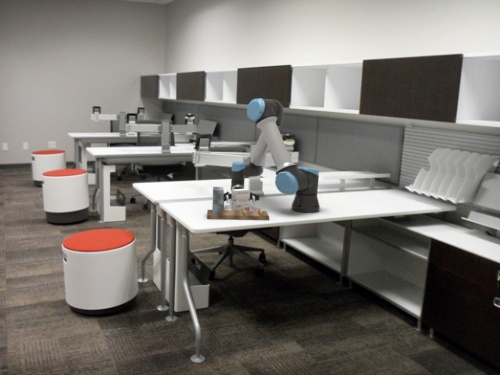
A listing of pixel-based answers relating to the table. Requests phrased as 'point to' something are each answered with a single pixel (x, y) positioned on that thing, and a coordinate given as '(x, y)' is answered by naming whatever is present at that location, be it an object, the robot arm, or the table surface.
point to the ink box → (240, 199)
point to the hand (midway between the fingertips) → (240, 200)
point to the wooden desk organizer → (242, 214)
